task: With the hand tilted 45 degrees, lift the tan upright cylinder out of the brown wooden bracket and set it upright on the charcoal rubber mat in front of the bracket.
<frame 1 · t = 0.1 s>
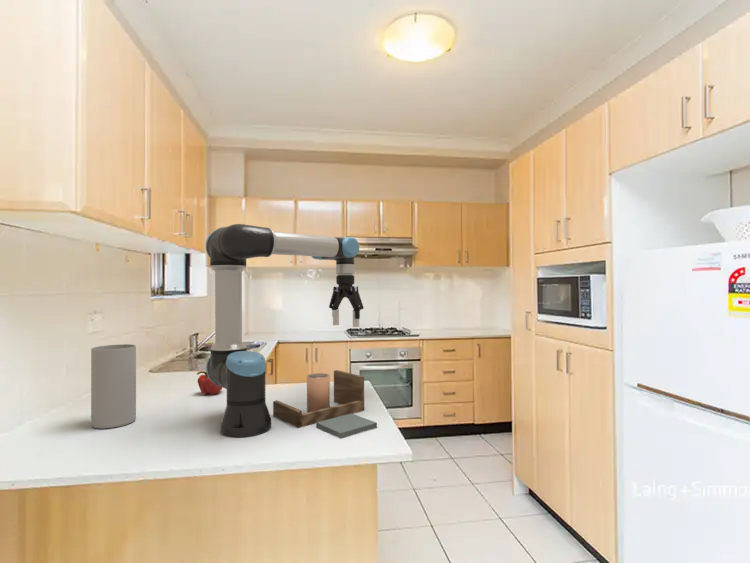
hand: (345, 326, 172), 28 cm above the countertop, tool pointing down, fingers open, 13 cm apart
rubber mat: (346, 427, 131), on the countertop
tan upright cylinder: (318, 412, 146), on the countertop
vegetable: (209, 394, 174), on the countertop
cylinder vase: (114, 423, 137), on the countertop
brown wooden bracket: (318, 412, 146), on the countertop
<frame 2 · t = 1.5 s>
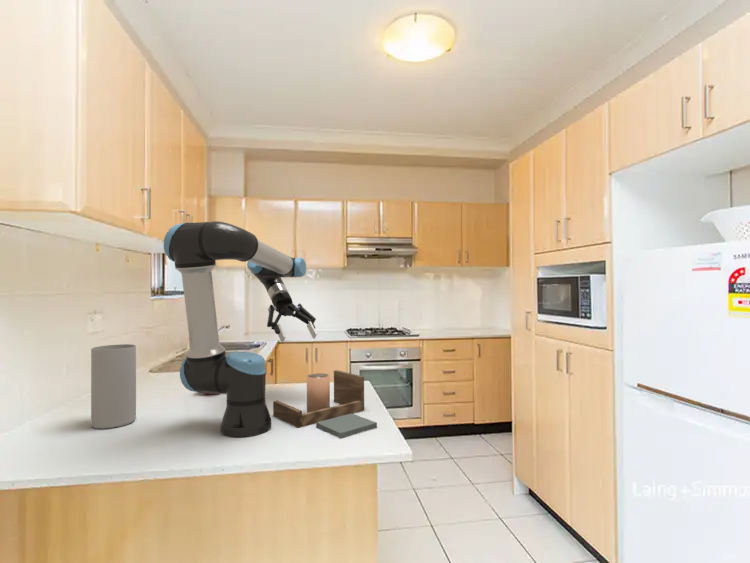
hand: (299, 338, 156), 25 cm above the countertop, tool tilted 45°, fingers open, 13 cm apart
nothing on the countertop moved.
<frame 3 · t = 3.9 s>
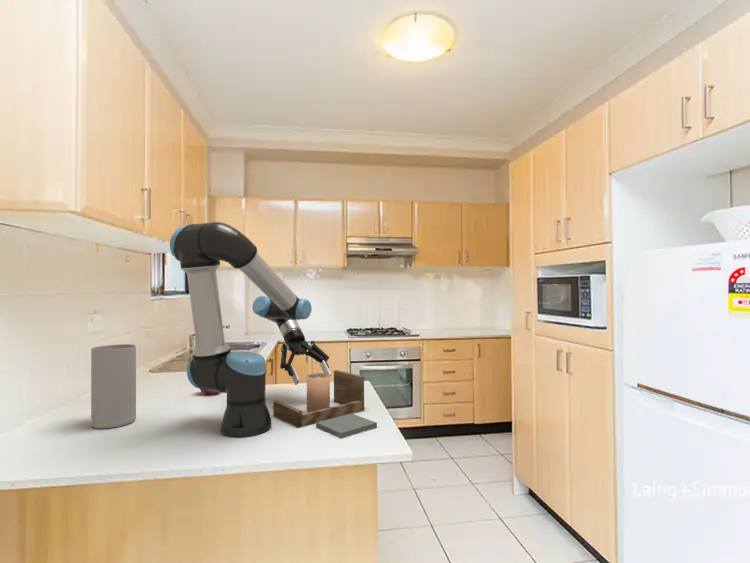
hand: (313, 379, 151), 10 cm above the countertop, tool tilted 45°, fingers open, 13 cm apart
nothing on the countertop moved.
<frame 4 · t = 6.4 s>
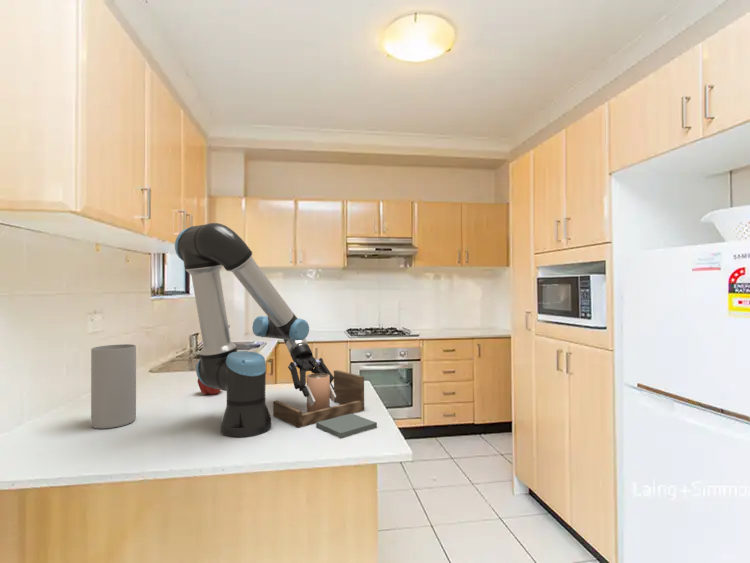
hand: (323, 401, 144), 5 cm above the countertop, tool tilted 45°, fingers closed on tan upright cylinder, 8 cm apart
tan upright cylinder: (318, 412, 146), on the countertop, touching gripper
everything else where it was.
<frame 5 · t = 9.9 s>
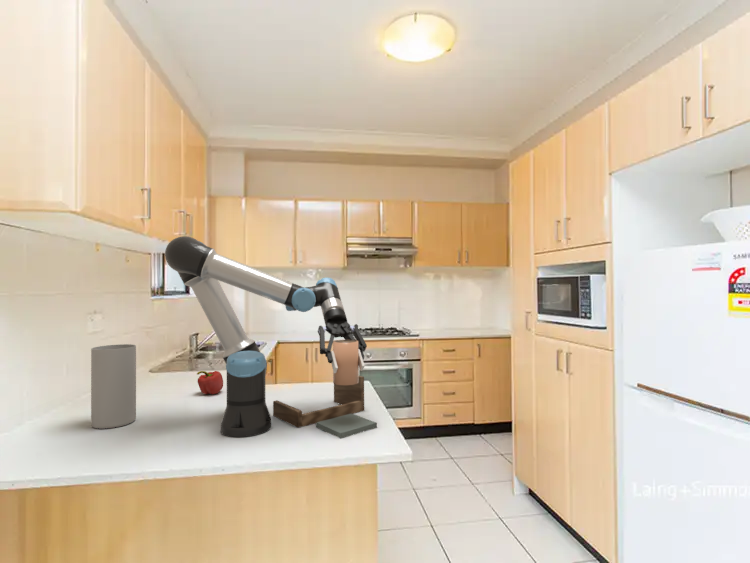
hand: (349, 369, 129), 19 cm above the countertop, tool tilted 45°, fingers closed on tan upright cylinder, 8 cm apart
tan upright cylinder: (345, 382, 132), point 14 cm above the countertop, touching gripper
everything else where it was.
when the fingers open (8 cm above the countertop, at t = 13.5 s): tan upright cylinder drops 1 cm, resting on rubber mat.
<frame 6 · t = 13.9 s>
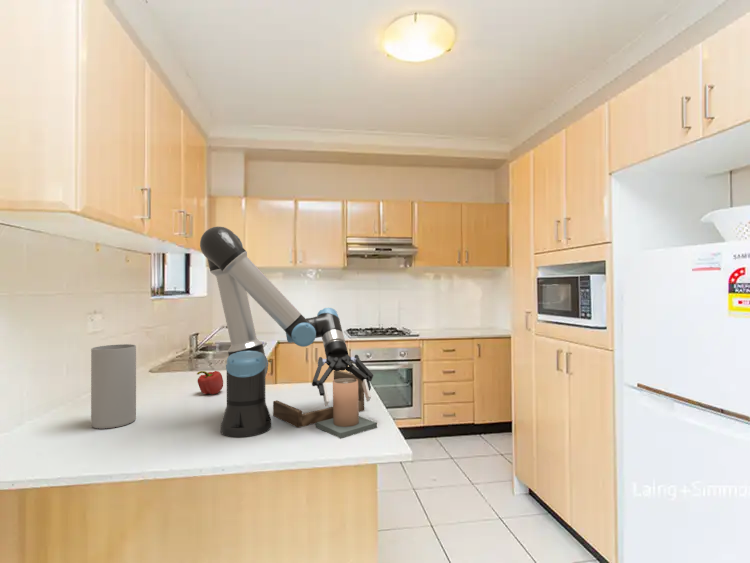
hand: (348, 401, 128), 9 cm above the countertop, tool tilted 45°, fingers open, 13 cm apart
tan upright cylinder: (346, 422, 131), point 2 cm above the countertop, touching rubber mat
everything else where it was.
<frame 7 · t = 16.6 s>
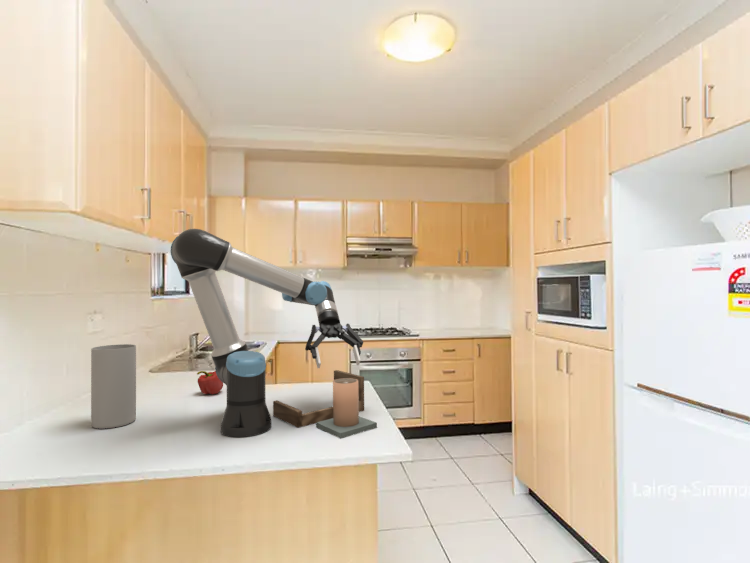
hand: (339, 364, 138), 18 cm above the countertop, tool tilted 45°, fingers open, 13 cm apart
nothing on the countertop moved.
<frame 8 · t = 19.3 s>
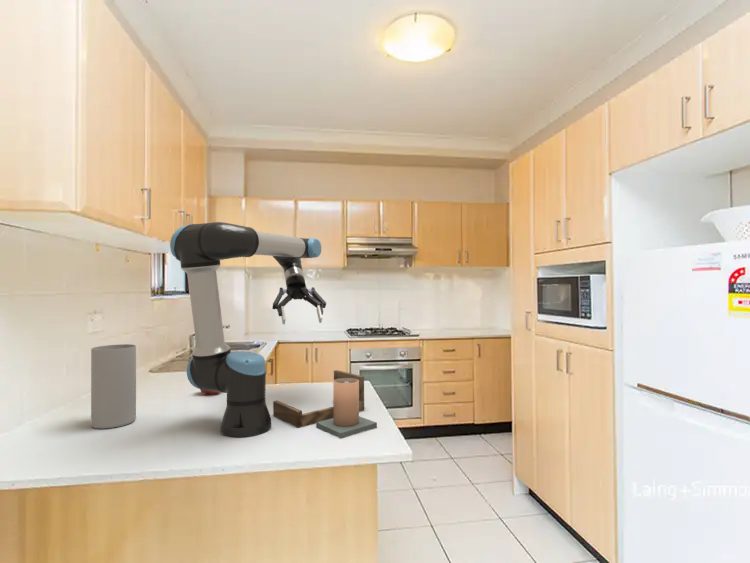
hand: (302, 321, 153), 32 cm above the countertop, tool tilted 45°, fingers open, 13 cm apart
nothing on the countertop moved.
at the end: tan upright cylinder inside the target area on the rubber mat (0.1 cm from its centre), point 1.6 cm above the rubber mat's base; tan upright cylinder tilted 1°; the gripper is holding nothing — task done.
